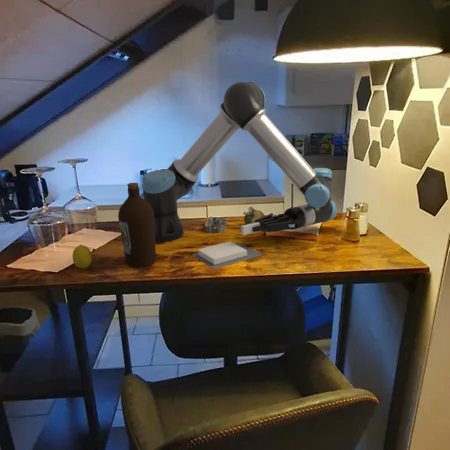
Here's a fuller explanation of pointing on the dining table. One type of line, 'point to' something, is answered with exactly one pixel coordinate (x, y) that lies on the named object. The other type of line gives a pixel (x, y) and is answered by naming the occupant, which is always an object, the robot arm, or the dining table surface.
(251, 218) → the onion
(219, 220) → the egg carton
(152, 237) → the olive oil
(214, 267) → the mat
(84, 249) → the lemon
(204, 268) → the dining table surface
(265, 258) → the dining table surface
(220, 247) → the tile
